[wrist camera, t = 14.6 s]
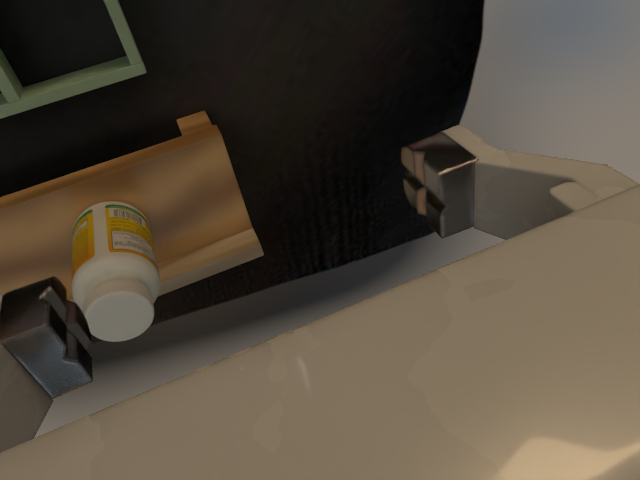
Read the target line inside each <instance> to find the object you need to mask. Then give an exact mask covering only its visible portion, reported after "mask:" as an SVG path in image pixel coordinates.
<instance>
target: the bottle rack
mask: <svg viewBox="0 0 640 480" xmlns="http://www.w3.org/2000/svg"><path fill="white" fill-rule="evenodd" d="M104 2H105V5H106V7H107V9H108V12H109V14H110V17H111V19H112V21H113V24H114V26H115V28H116V31H117V33H118V36H119V38H120V40H121V43H122V45H123V47H124V50H125V52H126V55H127V56H124V57H121V58H117V59H114V60H111V61H107V62H104V63H101V64H98V65H94V66H91V67H88V68H84V69H81V70H78V71H75V72H71V73H68V74H65V75H62V76H58V77H55V78H52V79H48V80H45V81H42V82H39V83H35V84H32V85H29V86H25V87H23V86H22V85H21V83H20V81H19V79H18V78H17V76H16V74H15V72H14V71H13V69H12V67H11V66H10V64H9V62H8V60H7V59H6V57H5V55H4V53H3V52H2V50H1V48H0V90H1V92H2V94H0V119H1V118H4V117H8V116H11V115H14V114H17V113H20V112H24V111H27V110H30V109H33V108H36V107H40V106H43V105H46V104H49V103H52V102H55V101H59V100H62V99H65V98H68V97H71V96H75V95H78V94H81V93H84V92H87V91H91V90H94V89H97V88H100V87H103V86H107V85H110V84H113V83H116V82H119V81H123V80H126V79H129V78H132V77H135V76H139V75H142V74H145V73H147V72H146V69H145V66H144V63H143V61H142V58H141V56H140V53H139V51H138V48H137V46H136V43H135V41H134V38H133V36H132V33H131V31H130V28H129V26H128V23H127V21H126V18H125V16H124V14H123V11H122V9H121V6H120V4H119V1H118V0H104Z"/></svg>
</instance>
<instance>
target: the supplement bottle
mask: <svg viewBox="0 0 640 480" xmlns="http://www.w3.org/2000/svg"><path fill="white" fill-rule="evenodd" d="M71 288H72V296H73V299H74V301H75V303H77V304H78V306H79V307H80V309H81V310H82V311H83V314H84V316H85V318H86V320H87V322H88V326H89V329H90V333H91V334H92V335H94V336H95V337H97V338H99V339H101V340H105V341H114V342H115V341H125V340H129V339H132V338H134V337H136V336H138V335H140V334H142V333H143V332H144V331H145V330H146V329H147V328H148V327H149V326H150V325H151V323H152V321H153V318H154V306H153V303H154V302H155V300H156V298H157V296H158V294H159V290H160V276H159V271H158V266H157V261H156V256H155V251H154V246H153V240H152V235H151V230H150V226H149V223H148V221H147V219H146V217H145V216H144V215H143V213H142V212H140V211H139V210H138V209H137V208H135V207H133V206H131V205H129V204H127V203H123V202H117V201H108V202H101V203H98V204H95V205H93V206H91V207H89V208H87V209H86V210H85V211H84V212H83V213H82V214H81V215H80V216H79V217H78V218H77V220H76V222H75V224H74V226H73V230H72V285H71Z"/></svg>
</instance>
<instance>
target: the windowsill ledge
mask: <svg viewBox="0 0 640 480" xmlns="http://www.w3.org/2000/svg"><path fill="white" fill-rule="evenodd" d="M177 123H178V126H179V129H180V131H181V134H182V136H181V137H178V138H175V139H172V140H169V141H166V142H163V143H160V144H157V145H154V146H151V147H148V148H145V149H142V150H139V151H136V152H133V153H130V154H127V155H124V156H121V157H118V158H115V159H112V160H109V161H106V162H103V163H101V164H98V165H95V166H92V167H89V168H86V169H83V170H80V171H77V172H74V173H71V174H68V175H65V176H62V177H59V178H56V179H53V180H50V181H47V182H44V183H41V184H38V185H35V186H32V187H29V188H26V189H24V190H21V191H18V192H15V193H12V194H9V195H6V196H3V197H0V294H5V293H6V292H9V291H12V290H15V289H18V288H21V287H23V286H26V285H29V284H32V283H35V282H38V281H41V280H44V279H46V278H49V277H52V276H55V277H57V278H59V280H60V281H61V282H62V284H63V285H64V286H65V287H66V289H67V300H69V301H72V302H74V303H75V301H74V299H73V296H72V288H71V285H72V230H73V226H74V224H75V222H76V220H77V218H78V217H79V216H80V215H81V214H82V213H83V212H84V211H85V210H86V209H87V208H89V207H91V206H93V205H95V204H98V203H101V202H108V201H117V202H123V203H127V204H129V205H131V206H133V207H135V208H137V209H138V210H139V211H140V212H142V213H143V215H144V216H145V217H146V219H147V221H148V223H149V226H150V230H151V235H152V240H153V246H154V251H155V256H156V261H157V266H158V271H159V276H160V290H159V294H158V296H160V295H162V294H165V293H168V292H170V291H173V290H175V289H178V288H180V287H183V286H186V285H188V284H191V283H193V282H196V281H198V280H201V279H204V278H206V277H209V276H211V275H214V274H216V273H219V272H222V271H224V270H227V269H229V268H232V267H234V266H237V265H240V264H242V263H245V262H247V261H250V260H253V259H255V258H258V257H260V256H263V255H264V253H263V250H262V247H261V244H260V242H259V240H258V238H257V236H256V234H255V232H254V230H253V227H252V225H251V222H250V219H249V216H248V213H247V210H246V207H245V204H244V201H243V198H242V195H241V192H240V189H239V186H238V183H237V180H236V177H235V174H234V171H233V168H232V165H231V162H230V159H229V156H228V153H227V150H226V147H225V144H224V141H223V138H222V135H221V133H220V131H219V129H218V127H217V125H213V126H212V124H211V122H210V120H209V118H208V116H207V114H206V112H205V111H201V112H198V113H195V114H192V115H189V116H186V117H183V118H180V119H177ZM82 312H83V311H82Z"/></svg>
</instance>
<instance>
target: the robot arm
mask: <svg viewBox="0 0 640 480" xmlns="http://www.w3.org/2000/svg"><path fill="white" fill-rule="evenodd" d="M401 162H402V164H403V165H404V166H405V167H406V168H407V169H408V170H407V172H406V174H405V176H404V178H403V183H404V191H405V193H406V196H407V199H408V201H409V203H410V205H411V206H412V208H413V209H414V210H415V211H416V212H417V213H418V214H422V215H426V216H427V224H428V225H429V226H430V227H431V228H432V229H433V230H434V231H435V232H436V233H437V234H438V235H439V236H440V237H441V238H444V237H447V236H450V235H453V234H455V233H458V232H461V231H463V230H466V229H469V228H471V227H474V228H475V229H478V230H481V231H483V232H486V233H489V234H492V235H494V236H497V237H500V238H503V239H505V241H503V242H501V243H498V244H496V245H493V246H491V247H489V248H486V249H484V250H481V251H479V252H477V253H474V254H472V255H470V256H467V257H465V258H463V259H460V260H458V261H455V262H453V263H451V264H448V265H446V266H444V267H441V268H439V269H436V270H434V271H431V272H429V273H427V274H424V275H422V276H420V277H417V278H415V279H412V280H410V281H408V282H405V283H403V284H401V285H399V286H396V287H393V288H391V289H389V290H386V291H384V292H382V293H379V294H377V295H374V296H372V297H370V298H367V299H365V300H362V301H360V302H358V303H355V304H353V305H351V306H348V307H346V308H343V309H341V310H339V311H336V312H334V313H332V314H329V315H327V316H324V317H322V318H320V319H317V320H315V321H312V322H310V323H308V324H305V325H303V326H301V327H298V328H296V329H293V330H291V331H289V332H286V333H284V334H282V335H279V336H277V337H274V338H272V339H270V340H267V341H265V342H263V343H260V344H258V345H255V346H253V347H251V348H248V349H246V350H243V351H241V352H239V353H236V354H234V355H231V356H229V357H227V358H224V359H222V360H220V361H217V362H215V363H213V364H210V365H208V366H205V367H203V368H200V369H198V370H196V371H193V372H191V373H189V374H186V375H184V376H182V377H179V378H177V379H174V380H172V381H169V382H167V383H165V384H163V385H160V386H158V387H155V388H153V389H150V390H148V391H146V392H143V393H141V394H138V395H136V396H134V397H132V398H129V399H127V400H124V401H122V402H119V403H117V404H115V405H112V406H110V407H108V408H105V409H103V410H101V411H99V412H96V413H93V414H91V415H89V416H86V417H84V418H82V419H79V420H77V421H74V422H72V423H69V424H67V425H65V426H62V427H60V428H57V429H55V430H53V431H50V432H48V433H46V434H43V435H41V436H38V437H36V438H34V436H35V435H36V433H37V431H38V429H39V427H40V425H41V423H42V421H43V419H44V417H45V416H46V414H47V412H48V410H49V408H50V406H51V404H52V402H53V400H52V399H54V398H56V397H58V396H61V395H63V394H65V393H67V392H70V391H72V390H74V389H77V388H79V387H81V386H83V385H86V384H88V383H90V382H92V381H93V376H92V358H91V356H90V355H89V353H88V352H87V351H86V350H87V348H88V347H89V345H90V344H91V333H90V329H89V326H88V322H87V320H86V318H85V316H84V314H83V312H82V310H81V309H80V307H79V306H78V304H77V303H74V302H72V301H69V300H67V289H66V287H65V286H64V285H63V284H62V282H61V281H60V280H59V278H57V277H55V276H52V277H49V278H46V279H44V280H41V281H38V282H35V283H32V284H29V285H26V286H23V287H21V288H18V289H15V290H12V291H9V292H6V293H5V294H0V480H640V184H639V183H637V182H635V181H634V180H632V179H630V178H628V177H627V176H625V175H623V174H622V173H620V172H618V171H617V170H615V169H613V168H612V167H610V166H608V165H606V164H599V163H592V162H586V161H579V160H572V159H565V158H558V157H552V156H545V155H538V154H530V153H524V152H518V151H510V150H504V151H501V152H500V151H498V150H497V149H495V148H494V147H493V146H491V145H490V144H488V143H487V142H485V141H484V140H483V139H481V138H480V137H478V136H477V135H475V134H474V133H472V132H471V131H469V130H468V129H467V128H465V127H464V126H461V125H457V126H454V127H452V128H449V129H447V130H444V131H442V132H440V133H438V134H435V135H433V136H430V137H428V138H425V139H423V140H420V141H418V142H415V143H412V144H410V145H407V146H405V147H402V151H401ZM33 438H34V439H33Z"/></svg>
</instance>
